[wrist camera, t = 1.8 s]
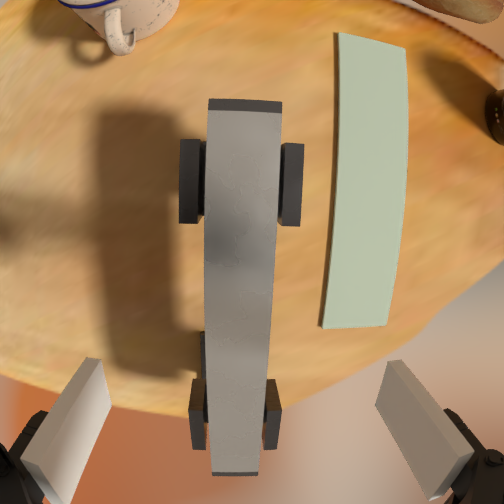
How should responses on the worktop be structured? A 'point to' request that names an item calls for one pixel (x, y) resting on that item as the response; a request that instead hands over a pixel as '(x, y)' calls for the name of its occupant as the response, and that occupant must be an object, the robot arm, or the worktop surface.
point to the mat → (367, 182)
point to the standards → (191, 214)
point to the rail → (239, 274)
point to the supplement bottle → (496, 115)
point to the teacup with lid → (124, 19)
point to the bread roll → (467, 9)
